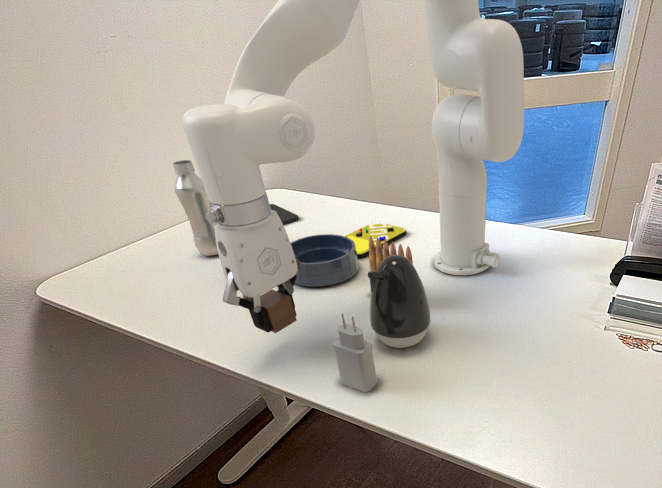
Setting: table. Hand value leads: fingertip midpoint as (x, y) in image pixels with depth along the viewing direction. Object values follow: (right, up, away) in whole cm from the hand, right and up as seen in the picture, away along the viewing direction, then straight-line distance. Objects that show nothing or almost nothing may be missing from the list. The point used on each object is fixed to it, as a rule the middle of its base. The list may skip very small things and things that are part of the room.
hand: (276, 320), depth 78 cm
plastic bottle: (-27, +22, +36) cm, 50 cm away
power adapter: (+14, -10, -4) cm, 18 cm away
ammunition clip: (+18, +6, +16) cm, 25 cm away
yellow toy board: (+10, +25, +38) cm, 47 cm away
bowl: (+2, +15, +26) cm, 30 cm away
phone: (-18, +37, +53) cm, 68 cm away
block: (0, 0, 0) cm, 0 cm away
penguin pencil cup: (+20, -3, +5) cm, 21 cm away
